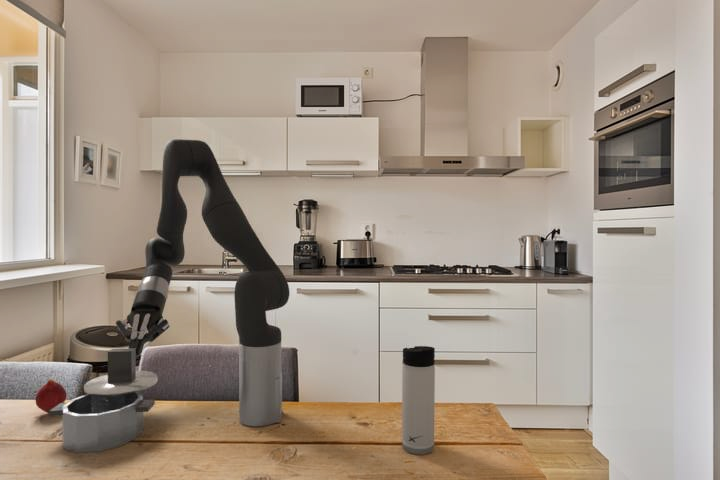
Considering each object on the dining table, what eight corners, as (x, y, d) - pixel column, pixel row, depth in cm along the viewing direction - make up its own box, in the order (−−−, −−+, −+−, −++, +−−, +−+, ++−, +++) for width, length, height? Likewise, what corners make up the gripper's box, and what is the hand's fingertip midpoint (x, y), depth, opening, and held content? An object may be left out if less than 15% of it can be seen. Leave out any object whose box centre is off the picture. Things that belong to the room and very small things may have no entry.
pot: (162, 418, 99) (162, 387, 99) (138, 449, 85) (138, 413, 85) (73, 422, 97) (73, 390, 97) (34, 454, 83) (34, 417, 83)
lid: (166, 373, 108) (165, 341, 108) (144, 395, 94) (144, 358, 93) (102, 375, 106) (102, 342, 106) (70, 397, 92) (69, 360, 92)
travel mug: (414, 459, 82) (415, 351, 82) (395, 443, 88) (396, 343, 88) (441, 451, 85) (442, 347, 85) (421, 437, 91) (422, 340, 91)
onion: (72, 408, 105) (72, 375, 105) (53, 419, 99) (52, 383, 99) (49, 407, 105) (49, 374, 105) (29, 417, 100) (28, 382, 99)
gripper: (120, 288, 115) (98, 348, 103) (174, 288, 116) (158, 346, 104) (129, 306, 120) (109, 364, 108) (180, 305, 121) (166, 362, 109)
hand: (133, 355), depth 106 cm, fingers closed
